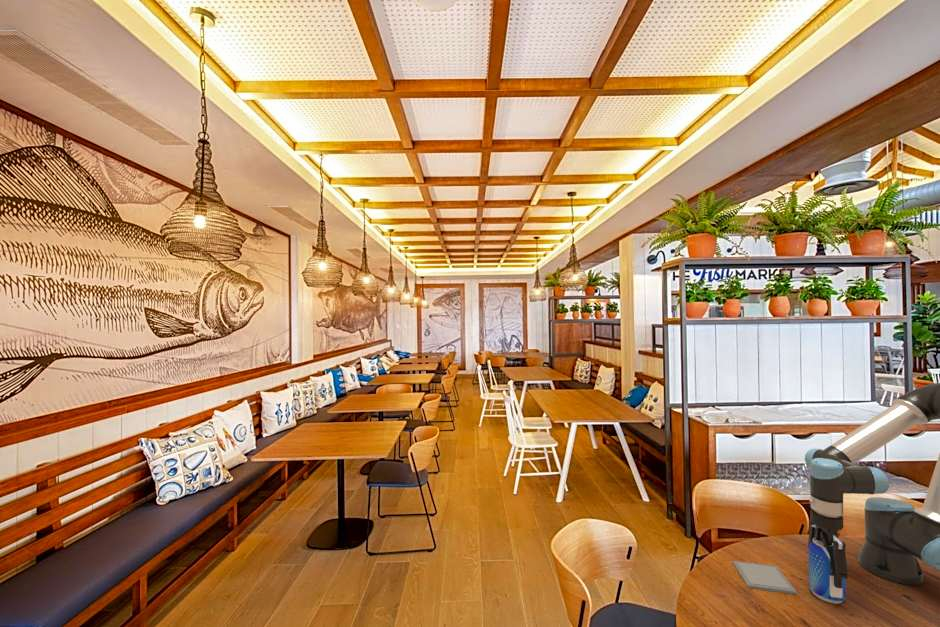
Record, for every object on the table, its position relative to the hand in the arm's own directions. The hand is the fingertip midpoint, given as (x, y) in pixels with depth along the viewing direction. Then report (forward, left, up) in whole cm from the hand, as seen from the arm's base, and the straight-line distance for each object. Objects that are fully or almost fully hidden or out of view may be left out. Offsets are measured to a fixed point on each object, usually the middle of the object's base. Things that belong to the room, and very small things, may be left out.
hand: (826, 586), depth 124 cm
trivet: (+15, -5, -3) cm, 16 cm away
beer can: (0, 0, -3) cm, 3 cm away
